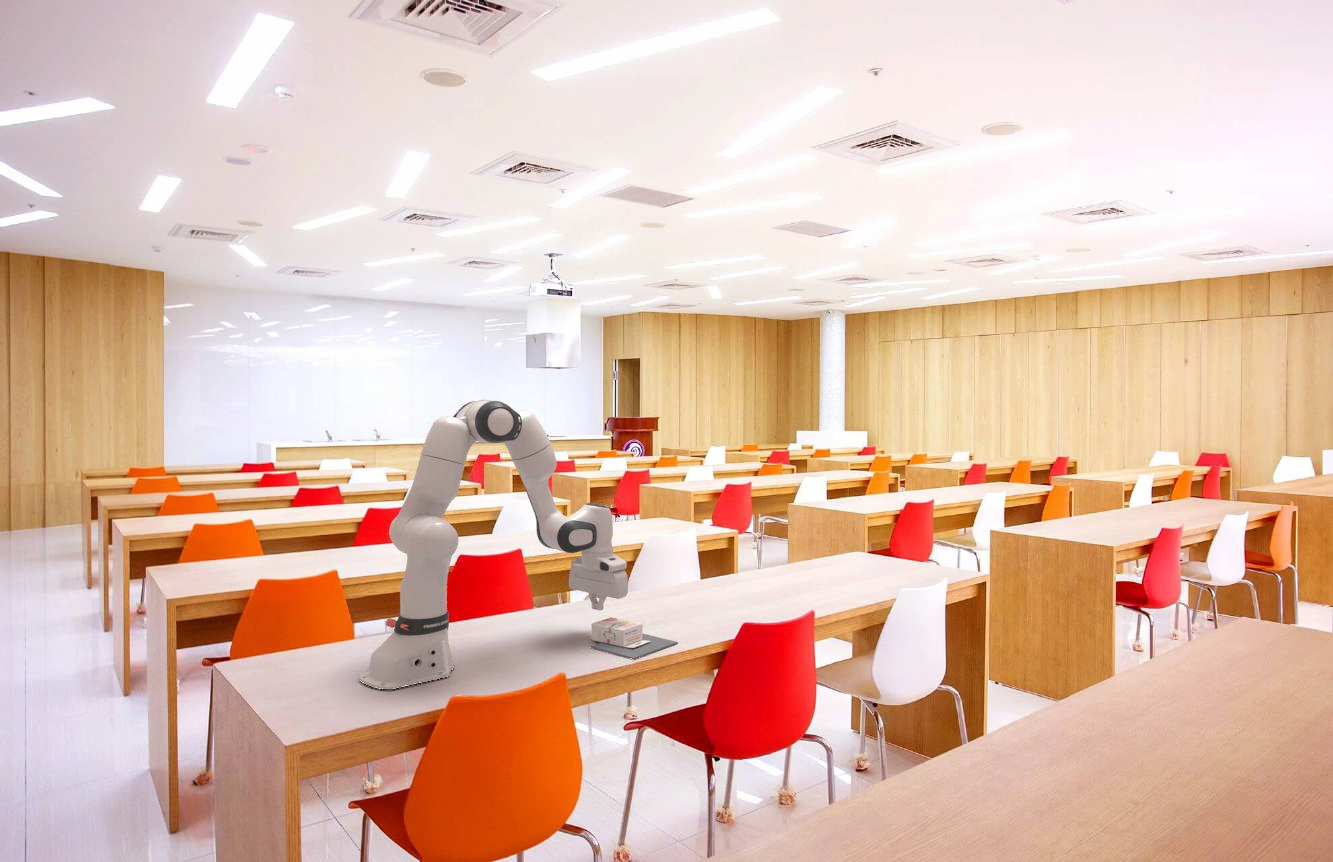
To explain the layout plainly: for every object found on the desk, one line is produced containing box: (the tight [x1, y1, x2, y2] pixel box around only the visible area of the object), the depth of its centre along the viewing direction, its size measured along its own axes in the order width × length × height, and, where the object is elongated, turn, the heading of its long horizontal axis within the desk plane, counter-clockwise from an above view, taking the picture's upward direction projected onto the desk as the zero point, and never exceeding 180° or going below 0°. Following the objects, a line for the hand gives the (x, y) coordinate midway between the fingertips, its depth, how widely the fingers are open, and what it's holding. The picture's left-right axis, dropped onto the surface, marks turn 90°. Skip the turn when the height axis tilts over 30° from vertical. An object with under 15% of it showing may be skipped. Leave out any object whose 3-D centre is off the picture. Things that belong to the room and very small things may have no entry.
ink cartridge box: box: [590, 617, 650, 648], centre depth 224 cm, size 9×5×15 cm
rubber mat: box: [589, 632, 679, 660], centre depth 222 cm, size 18×16×1 cm
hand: (597, 609), depth 229 cm, fingers closed
